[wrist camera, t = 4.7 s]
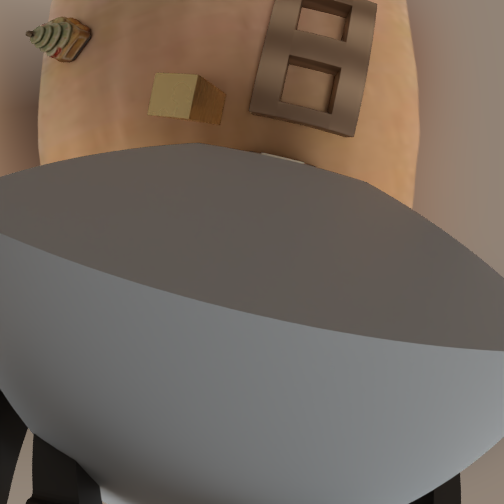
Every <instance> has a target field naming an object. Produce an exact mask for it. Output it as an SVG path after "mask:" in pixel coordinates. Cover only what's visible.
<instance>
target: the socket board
mask: <svg viewBox="0 0 504 504" xmlns="http://www.w3.org/2000/svg"><path fill="white" fill-rule="evenodd" d="M302 7H304V8H309V9H314V10H318V11H322V12H326V13H330V14H334V15H337V16H341V17H344V18H346V22H345V28H344V34H343V39H342V41H340V40H336V39H333V38H329V37H325V36H322V35H317V34H313V33H309V32H305V31H300V30H297V26H298V21H299V17H300V13H301V8H302ZM376 11H377V4H376V3H373V2H370V1H368V0H275V3H274V7H273V10H272V14H271V18H270V22H269V26H268V30H267V34H266V38H265V42H264V46H263V51H262V55H261V59H260V63H259V67H258V72H257V76H256V80H255V85H254V89H253V94H252V98H251V103H250V107H249V112H251V113H252V114H253V115H258V116H263V117H269V118H273V119H278V120H283V121H287V122H291V123H296V124H300V125H304V126H308V127H312V128H315V129H319V130H323V131H326V132H330V133H333V134H337V135H340V136H343V137H354V134H355V130H356V125H357V121H358V116H359V112H360V107H361V102H362V97H363V92H364V87H365V82H366V76H367V71H368V65H369V59H370V53H371V47H372V41H373V34H374V27H375V19H376ZM289 64H291V65H296V66H300V67H305V68H309V69H313V70H317V71H321V72H324V73H328V74H332V75H335V80H334V85H333V90H332V94H331V99H330V104H329V108H328V113H325V112H321V111H317V110H314V109H310V108H306V107H302V106H298V105H293V104H289V103H284V102H280V101H281V97H282V92H283V88H284V83H285V79H286V75H287V70H288V66H289Z"/></svg>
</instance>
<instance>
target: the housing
mask: <svg viewBox="0 0 504 504" xmlns="http://www.w3.org/2000/svg"><path fill="white" fill-rule="evenodd" d="M0 389H1V391H2V392H3V394H4V395H5V397H6V398H7V400H8V401H9V403H10V404H11V406H12V407H13V408H14V410H15V411H16V413H17V414H18V415H19V417H20V418H21V419H22V421H23V422H24V423H25V424H26V426H27V427H28V428H29V429H30V431H31V432H32V433H33V434H36V435H37V436H39V437H40V438H41V439H43V440H44V441H46V442H47V443H49V444H50V445H52V446H53V447H55V448H56V449H58V450H60V451H61V452H63V453H64V454H66V455H68V456H69V457H71V458H73V459H74V460H76V461H77V462H78V464H79V465H80V466H81V467H82V468H83V469H84V470H85V471H86V472H87V473H88V474H89V476H90V477H91V478H92V479H93V480H94V481H95V482H96V483H97V484H98V485H99V486H100V492H101V499H102V501H103V502H105V503H107V504H409V503H411V502H413V501H415V500H416V499H418V498H420V497H422V496H424V495H425V494H427V493H429V492H430V491H432V490H434V489H435V488H437V487H439V486H440V485H442V484H443V483H445V482H446V481H448V480H450V479H451V478H452V477H454V476H455V475H457V474H458V473H460V472H461V471H462V470H464V469H465V468H467V467H468V466H469V465H471V464H472V463H473V462H474V461H476V460H477V459H478V458H480V457H481V456H482V455H483V454H484V453H486V452H487V451H488V450H489V449H490V448H492V447H493V446H494V445H495V444H496V443H497V442H498V441H499V440H500V439H502V438H503V437H504V278H503V277H502V276H501V275H499V274H498V273H497V272H496V271H495V270H494V269H493V268H491V267H490V266H489V265H488V264H487V263H485V262H484V261H483V260H482V259H480V258H479V257H478V256H477V255H475V254H474V253H473V252H471V251H470V250H469V249H468V248H466V247H465V246H464V245H462V244H461V243H460V242H458V241H457V240H456V239H454V238H453V237H452V236H450V235H449V234H448V233H446V232H445V231H443V230H442V229H441V228H439V227H437V226H436V225H435V224H433V223H432V222H430V221H429V220H427V219H426V218H424V217H423V216H421V215H420V214H418V213H417V212H415V211H414V210H412V209H411V208H409V207H407V206H406V205H404V204H403V203H401V202H399V201H398V200H396V199H395V198H393V197H391V196H390V195H388V194H386V193H384V192H383V191H381V190H379V189H378V188H376V187H374V186H372V185H371V184H369V183H367V182H364V181H361V180H358V179H355V178H351V177H348V176H345V175H341V174H338V173H334V172H331V171H327V170H324V169H320V168H316V167H312V166H309V165H305V164H301V163H297V162H293V161H289V160H284V159H280V158H276V157H271V156H267V155H262V154H257V153H252V152H247V151H242V150H237V149H232V148H226V147H221V146H215V145H209V144H202V143H187V144H174V145H162V146H152V147H143V148H135V149H127V150H120V151H113V152H106V153H100V154H94V155H89V156H83V157H78V158H73V159H68V160H63V161H59V162H54V163H50V164H46V165H42V166H38V167H34V168H30V169H26V170H23V171H19V172H15V173H12V174H9V175H5V176H2V177H0Z"/></svg>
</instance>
